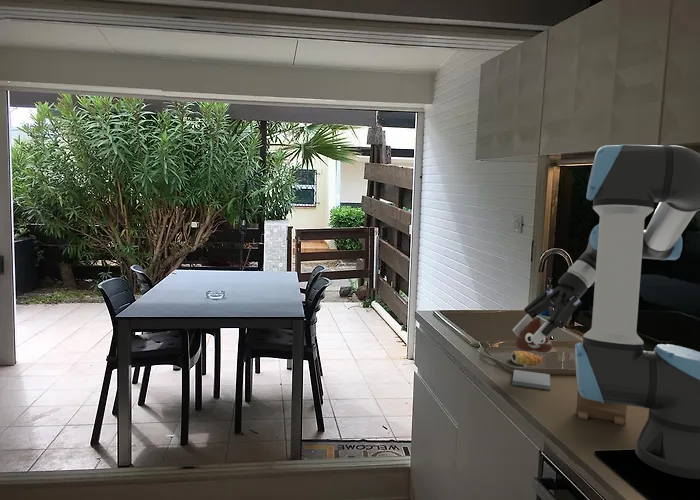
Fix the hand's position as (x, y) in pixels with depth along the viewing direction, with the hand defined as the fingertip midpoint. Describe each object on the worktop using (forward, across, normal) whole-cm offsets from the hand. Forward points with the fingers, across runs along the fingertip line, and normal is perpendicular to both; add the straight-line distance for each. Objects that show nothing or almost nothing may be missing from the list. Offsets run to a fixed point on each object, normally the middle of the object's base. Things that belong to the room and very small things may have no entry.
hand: (524, 337), depth 159 cm
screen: (+6, -26, -12) cm, 29 cm away
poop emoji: (0, 0, -5) cm, 5 cm away
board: (+7, 0, -11) cm, 13 cm away
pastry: (+1, +16, -18) cm, 24 cm away
